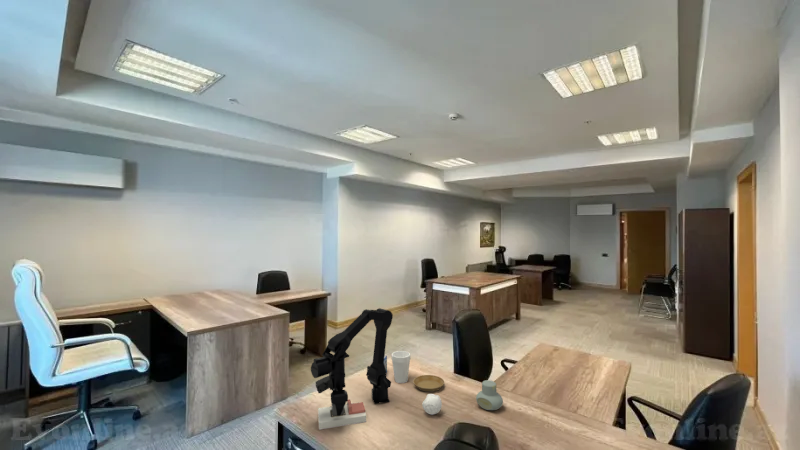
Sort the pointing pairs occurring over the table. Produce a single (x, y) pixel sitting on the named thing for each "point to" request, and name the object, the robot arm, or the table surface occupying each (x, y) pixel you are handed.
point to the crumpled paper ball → (432, 404)
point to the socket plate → (338, 418)
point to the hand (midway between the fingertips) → (337, 409)
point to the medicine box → (385, 362)
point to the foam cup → (401, 365)
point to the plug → (334, 412)
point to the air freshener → (489, 396)
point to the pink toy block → (355, 407)
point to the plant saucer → (428, 382)
